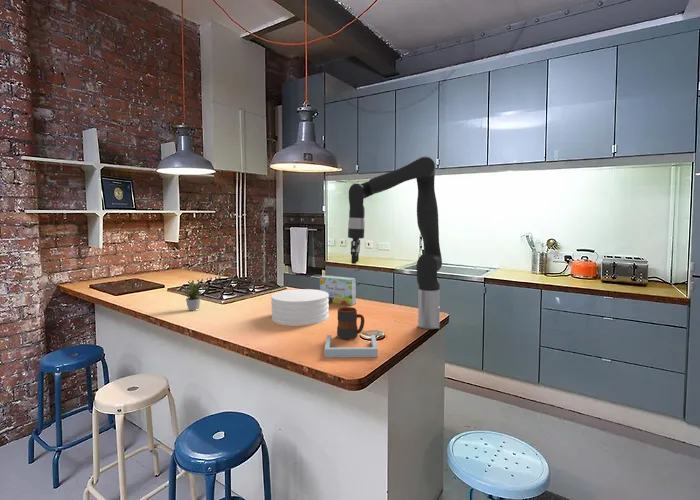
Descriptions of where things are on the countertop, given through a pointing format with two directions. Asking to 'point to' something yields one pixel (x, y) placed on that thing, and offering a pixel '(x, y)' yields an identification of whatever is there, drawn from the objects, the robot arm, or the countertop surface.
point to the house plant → (193, 296)
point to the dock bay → (351, 350)
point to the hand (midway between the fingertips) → (354, 262)
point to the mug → (348, 323)
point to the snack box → (339, 289)
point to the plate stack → (300, 307)
